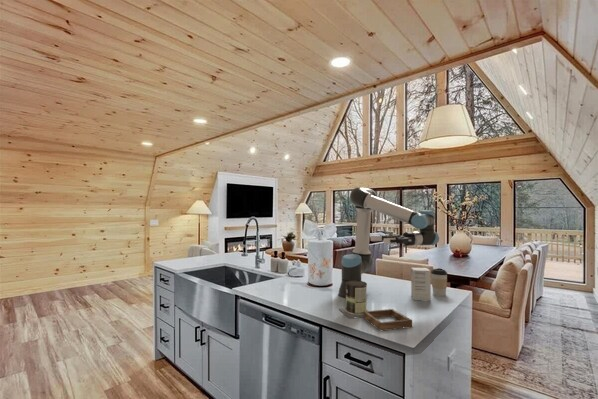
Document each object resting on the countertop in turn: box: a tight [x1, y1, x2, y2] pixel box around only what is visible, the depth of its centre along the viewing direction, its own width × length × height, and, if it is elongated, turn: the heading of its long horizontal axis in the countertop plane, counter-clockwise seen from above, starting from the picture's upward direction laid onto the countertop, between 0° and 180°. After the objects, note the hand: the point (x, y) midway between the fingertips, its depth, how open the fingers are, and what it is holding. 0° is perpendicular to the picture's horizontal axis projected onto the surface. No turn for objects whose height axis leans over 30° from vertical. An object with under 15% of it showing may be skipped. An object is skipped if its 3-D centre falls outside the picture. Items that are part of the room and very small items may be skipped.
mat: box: [338, 307, 369, 319], centre depth 150 cm, size 13×13×1 cm
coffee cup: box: [430, 267, 448, 297], centre depth 183 cm, size 9×9×15 cm
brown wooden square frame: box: [363, 308, 413, 331], centre depth 138 cm, size 15×15×3 cm
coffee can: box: [345, 280, 368, 315], centre depth 150 cm, size 10×10×14 cm
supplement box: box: [410, 267, 432, 302], centre depth 175 cm, size 10×9×17 cm
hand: (377, 239), depth 162 cm, fingers open, 13 cm apart
